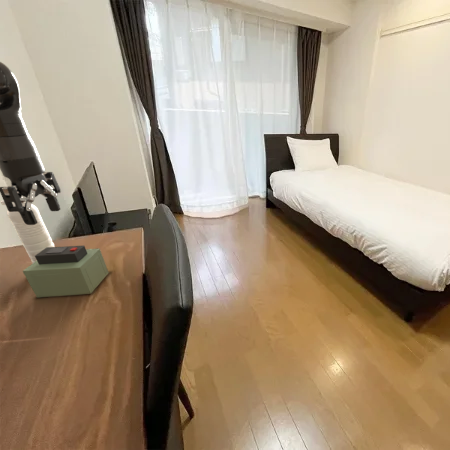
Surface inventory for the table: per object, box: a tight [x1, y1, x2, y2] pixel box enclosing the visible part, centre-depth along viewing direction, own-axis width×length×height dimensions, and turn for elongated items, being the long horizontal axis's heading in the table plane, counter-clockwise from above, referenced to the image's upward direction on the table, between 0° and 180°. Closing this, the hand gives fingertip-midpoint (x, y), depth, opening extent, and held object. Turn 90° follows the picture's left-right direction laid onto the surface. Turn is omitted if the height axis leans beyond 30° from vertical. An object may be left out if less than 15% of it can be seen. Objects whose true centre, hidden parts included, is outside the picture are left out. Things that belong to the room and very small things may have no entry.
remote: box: [35, 245, 88, 264], centre depth 76 cm, size 10×4×3 cm, turn 97°
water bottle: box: [0, 196, 56, 264], centre depth 82 cm, size 9×6×25 cm
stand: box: [22, 248, 110, 298], centre depth 79 cm, size 14×10×9 cm
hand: (44, 217), depth 71 cm, fingers open, 8 cm apart
